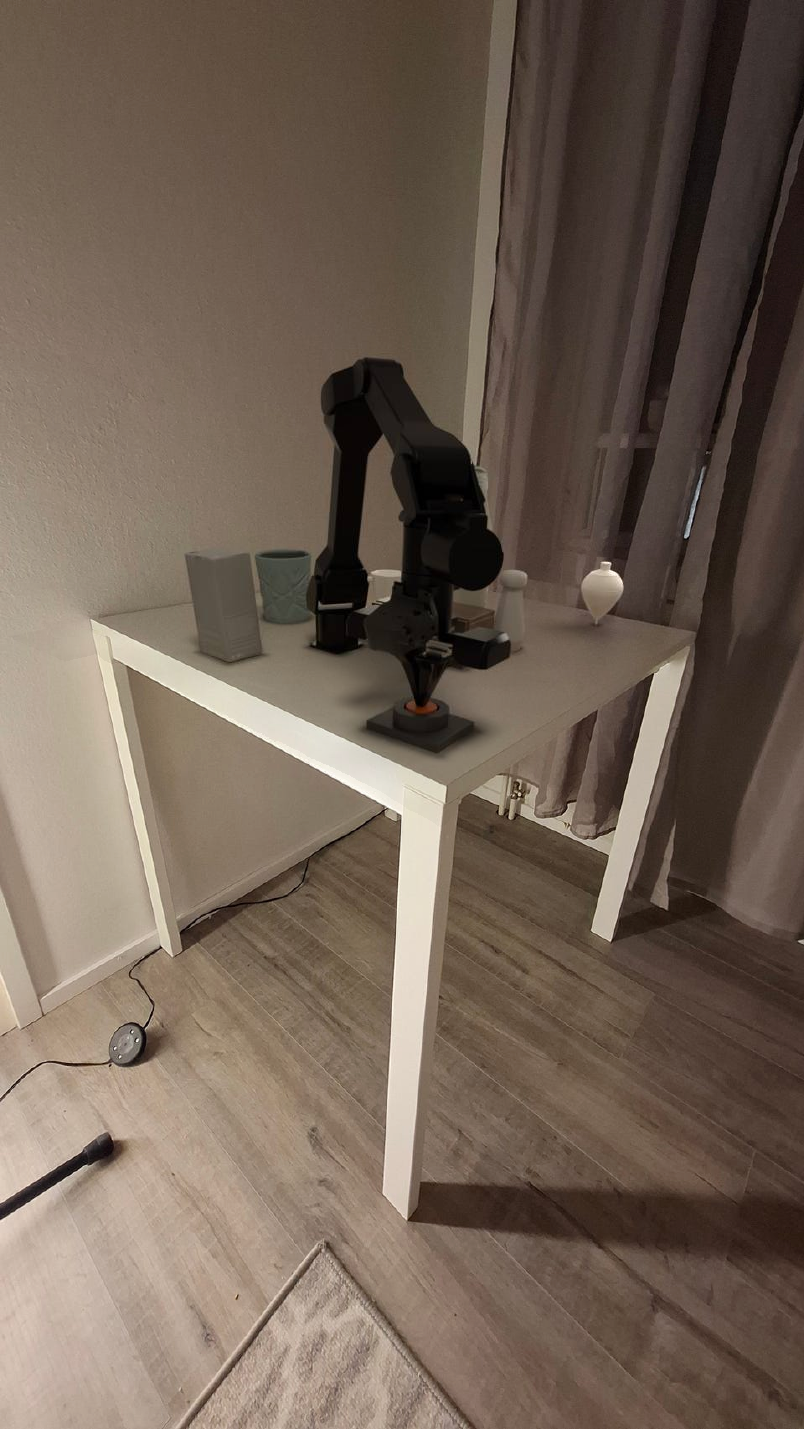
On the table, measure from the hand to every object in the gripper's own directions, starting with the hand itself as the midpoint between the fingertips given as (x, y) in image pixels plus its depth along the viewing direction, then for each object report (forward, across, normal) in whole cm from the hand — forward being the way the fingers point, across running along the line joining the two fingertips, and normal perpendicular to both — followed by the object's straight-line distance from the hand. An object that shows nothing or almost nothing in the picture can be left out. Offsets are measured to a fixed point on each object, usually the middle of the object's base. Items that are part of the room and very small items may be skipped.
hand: (421, 705), depth 72 cm
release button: (+2, 0, 0) cm, 2 cm away
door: (+3, -16, +17) cm, 24 cm away
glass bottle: (+3, -23, +46) cm, 52 cm away
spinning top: (+3, -1, +62) cm, 62 cm away
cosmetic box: (+3, -39, +4) cm, 39 cm away
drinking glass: (+3, -48, +24) cm, 54 cm away
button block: (+3, 0, 0) cm, 3 cm away
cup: (+3, -37, +40) cm, 54 cm away
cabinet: (+3, -16, +26) cm, 31 cm away
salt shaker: (+3, -7, +36) cm, 36 cm away
